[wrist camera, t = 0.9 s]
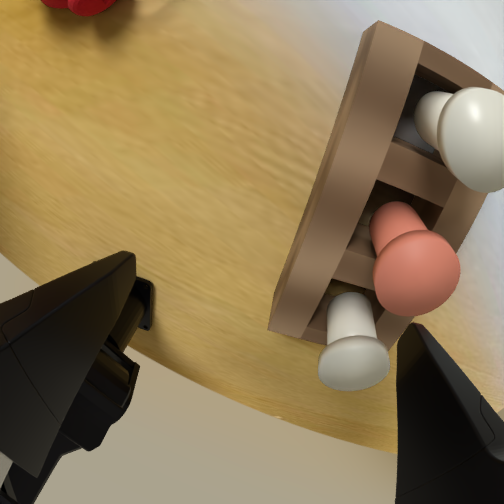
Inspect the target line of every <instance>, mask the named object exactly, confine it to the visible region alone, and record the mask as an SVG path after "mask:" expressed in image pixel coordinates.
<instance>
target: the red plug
mask: <svg viewBox="0 0 504 504" xmlns="http://www.w3.org/2000/svg"><path fill="white" fill-rule="evenodd" d="M369 232H370V236H371V239H372V242H373V245H374V248H375V251H376V254H377V258H376V260H375V263H374V266H373V282H374V287H375V291H376V295H377V298H378V300H379V302H380V304H381V305H382V306H383V307H384V308H385V309H386V310H388V311H389V312H391V313H393V314H396V315H399V316H407V317H408V316H418V315H422V314H425V313H428V312H430V311H432V310H434V309H436V308H438V307H439V306H440V305H442V304H443V303H444V302H445V301H446V300H447V299H448V298H449V297H450V296H451V294H452V293H453V292H454V290H455V288H456V286H457V284H458V281H459V277H460V263H459V259H458V257H457V255H456V254H455V252H454V250H453V249H452V247H451V246H450V244H449V243H448V241H447V240H446V239H445V238H444V237H443V236H441V235H440V234H438V233H436V232H433V231H429V230H428V229H427V228H426V226H425V225H424V223H423V222H422V220H421V219H420V217H419V216H418V214H417V213H416V211H415V210H414V209H413V208H412V207H411V206H410V205H409V204H407V203H404V202H400V201H393V202H389V203H386V204H384V205H382V206H381V207H379V208H378V209H377V210H376V211H375V212H374V214H373V215H372V217H371V220H370V223H369Z"/></svg>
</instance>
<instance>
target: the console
mask: <svg viewBox="0 0 504 504" xmlns="http://www.w3.org/2000/svg"><path fill="white" fill-rule="evenodd" d="M414 74H415V75H417V76H419V77H421V78H423V79H425V80H427V81H429V82H431V83H433V84H435V85H436V86H438V87H440V88H442V89H444V90H446V91H447V92H449V93H451V94H455V93H456V92H458V91H459V90H462V89H464V88H468V87H479V88H485V89H490V90H494V91H497V92H499V93H501V94H503V95H504V91H503V90H502V89H501V88H499V87H498V86H497V85H495V84H494V83H492V82H491V81H490V80H488V79H487V78H485V77H484V76H482V75H481V74H479V73H478V72H476V71H475V70H473V69H472V68H470V67H469V66H467V65H465V64H464V63H462V62H461V61H459V60H457V59H456V58H454V57H452V56H451V55H449V54H447V53H445V52H444V51H442V50H440V49H438V48H436V47H435V46H433V45H431V44H429V43H427V42H425V41H423V40H421V39H419V38H417V37H415V36H413V35H411V34H409V33H407V32H404V31H402V30H400V29H398V28H396V27H393V26H391V25H389V24H386V23H384V22H382V21H379V20H378V21H377V22H376V23H374V24H373V25H372V26H370V27H369V28H368V29H366V30H365V31H364V32H363V34H362V38H361V41H360V45H359V48H358V51H357V55H356V58H355V61H354V64H353V68H352V71H351V74H350V77H349V81H348V84H347V87H346V90H345V93H344V96H343V99H342V103H341V106H340V109H339V112H338V115H337V118H336V121H335V124H334V127H333V130H332V133H331V136H330V139H329V142H328V145H327V148H326V151H325V154H324V157H323V160H322V163H321V166H320V168H319V171H318V174H317V177H316V180H315V183H314V186H313V189H312V191H311V194H310V197H309V200H308V203H307V205H306V208H305V211H304V214H303V217H302V219H301V222H300V225H299V228H298V230H297V233H296V236H295V239H294V241H293V244H292V247H291V249H290V252H289V255H288V257H287V260H286V263H285V265H284V268H283V271H282V273H281V276H280V279H279V281H278V284H277V286H276V289H275V292H274V297H273V302H272V308H271V314H270V319H269V325H268V330H269V331H273V332H276V333H280V334H284V335H288V336H291V337H295V338H299V339H303V340H307V341H311V342H315V343H319V344H323V345H327V306H328V304H329V302H330V301H331V300H332V299H333V298H334V297H336V296H332V295H329V294H325V293H324V292H325V290H326V288H327V286H328V284H329V282H330V280H331V278H333V279H337V280H340V281H343V282H347V283H350V284H354V285H357V286H360V287H364V288H367V289H366V291H365V292H364V294H363V295H364V296H366V297H367V298H368V299H369V301H370V303H371V307H372V312H373V318H374V324H375V329H376V335H377V339H378V340H380V341H381V342H383V343H384V344H385V346H386V347H387V350H388V351H389V349H390V348H391V347H392V346H393V344H394V343H395V342H396V341H397V339H398V338H399V337H400V335H401V334H402V333H403V331H404V330H405V329H406V327H407V326H408V325H409V323H410V322H411V321H412V319H413V318H414V317H415V316H408V317H407V316H399V315H396V314H393V313H391V312H389V311H388V310H386V309H385V308H384V307H383V306H382V305H381V304H380V302H379V300H378V298H377V295H376V291H375V287H374V282H373V266H374V263H375V260H376V258H377V254H376V251H375V248H374V245H373V242H372V239H371V236H370V232H369V227H367V226H364V225H361V224H358V221H359V219H360V216H361V214H362V212H363V209H364V207H365V205H366V203H367V200H368V198H369V195H370V193H371V191H372V188H373V186H374V184H375V181H376V179H377V180H380V181H382V182H385V183H387V184H390V185H392V186H395V187H397V188H400V189H402V190H405V191H407V192H409V193H412V194H414V195H415V196H414V199H413V201H412V203H411V205H410V206H411V207H412V208H413V209H414V210H415V211H416V213H417V214H418V216H419V217H420V219H421V220H422V222H423V223H424V225H425V226H426V228H427V229H428V230H429V231H433V232H436V233H438V234H440V235H441V236H443V237H444V238H445V239H446V240H447V241H448V243H449V244H450V246H451V247H452V249H453V250H454V252H455V254H456V253H457V251H458V249H459V247H460V246H461V244H462V242H463V240H464V239H465V237H466V235H467V233H468V231H469V230H470V228H471V226H472V224H473V222H474V220H475V218H476V216H477V214H478V212H479V210H480V208H481V206H482V204H483V202H484V200H485V198H486V196H487V194H488V193H482V192H477V191H474V190H472V189H470V188H469V187H467V186H466V185H465V184H463V183H462V182H461V181H460V180H459V179H458V178H456V177H455V176H454V175H453V174H452V173H451V172H450V171H449V170H448V168H447V167H446V166H445V164H444V162H443V160H442V158H441V155H440V152H439V151H438V150H437V149H435V150H434V152H433V154H431V153H429V152H427V151H425V150H423V149H421V148H419V147H416V146H414V145H412V144H410V143H408V142H406V141H403V140H401V139H399V138H397V137H394V136H393V135H394V132H395V130H396V127H397V124H398V121H399V118H400V116H401V113H402V110H403V107H404V104H405V101H406V98H407V95H408V92H409V89H410V86H411V83H412V80H413V77H414Z"/></svg>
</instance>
